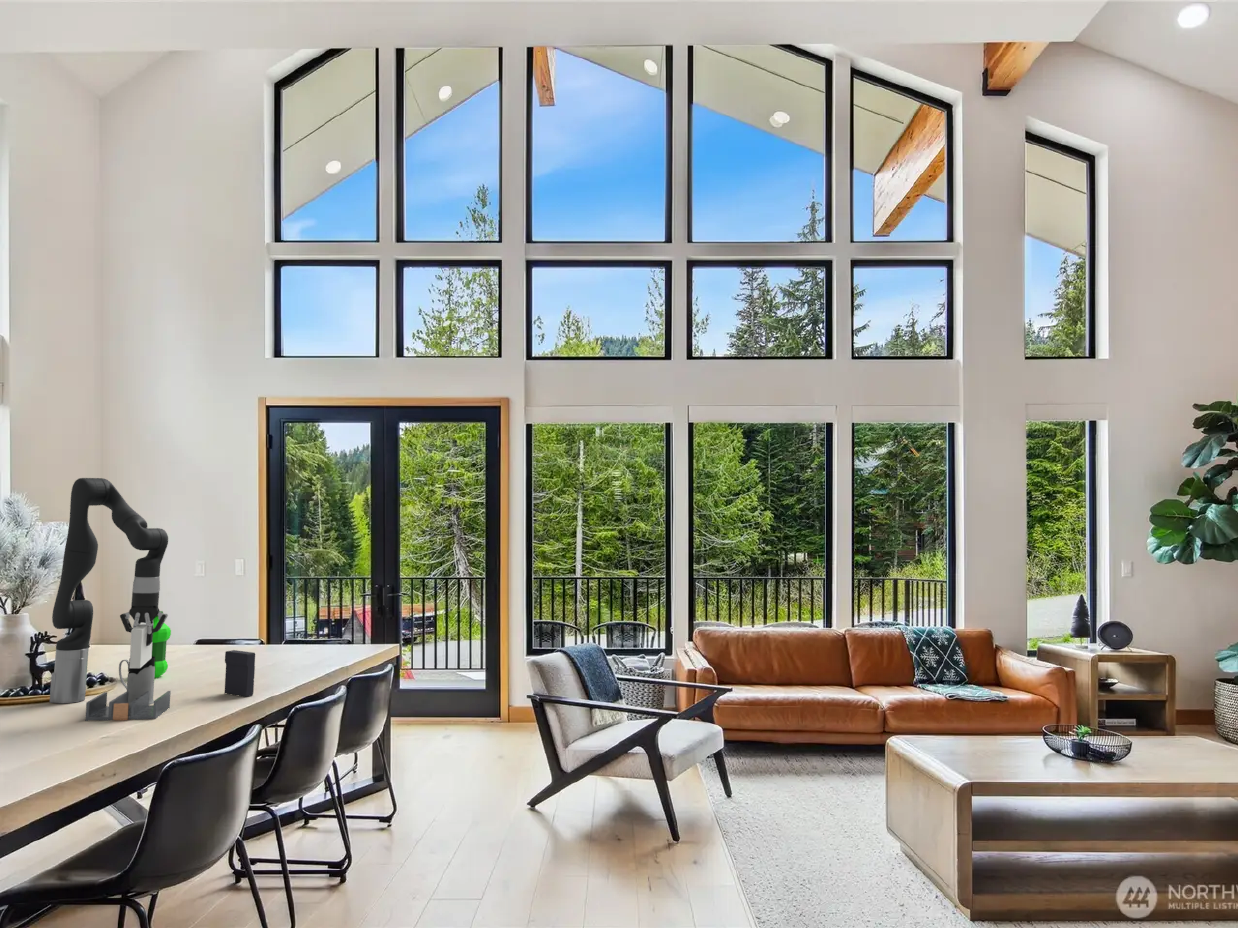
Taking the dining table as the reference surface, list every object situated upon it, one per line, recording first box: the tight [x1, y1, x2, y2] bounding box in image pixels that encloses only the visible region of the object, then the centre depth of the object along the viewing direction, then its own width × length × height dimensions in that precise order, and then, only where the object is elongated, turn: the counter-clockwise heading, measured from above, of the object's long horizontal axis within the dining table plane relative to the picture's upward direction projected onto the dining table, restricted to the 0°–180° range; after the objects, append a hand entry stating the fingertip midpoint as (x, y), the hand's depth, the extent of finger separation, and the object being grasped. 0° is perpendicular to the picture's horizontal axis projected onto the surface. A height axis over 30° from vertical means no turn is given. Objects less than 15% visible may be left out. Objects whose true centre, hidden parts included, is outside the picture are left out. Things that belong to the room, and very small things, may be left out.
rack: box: [84, 690, 172, 722], centre depth 262 cm, size 19×16×6 cm
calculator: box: [224, 649, 256, 698], centre depth 294 cm, size 11×4×15 cm, turn 65°
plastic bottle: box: [152, 610, 172, 679], centre depth 322 cm, size 10×10×25 cm
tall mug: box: [118, 656, 155, 706], centre depth 278 cm, size 9×14×15 cm, turn 71°
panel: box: [129, 623, 152, 668], centre depth 264 cm, size 3×12×12 cm, turn 15°
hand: (141, 645), depth 264 cm, fingers closed on panel, 3 cm apart
